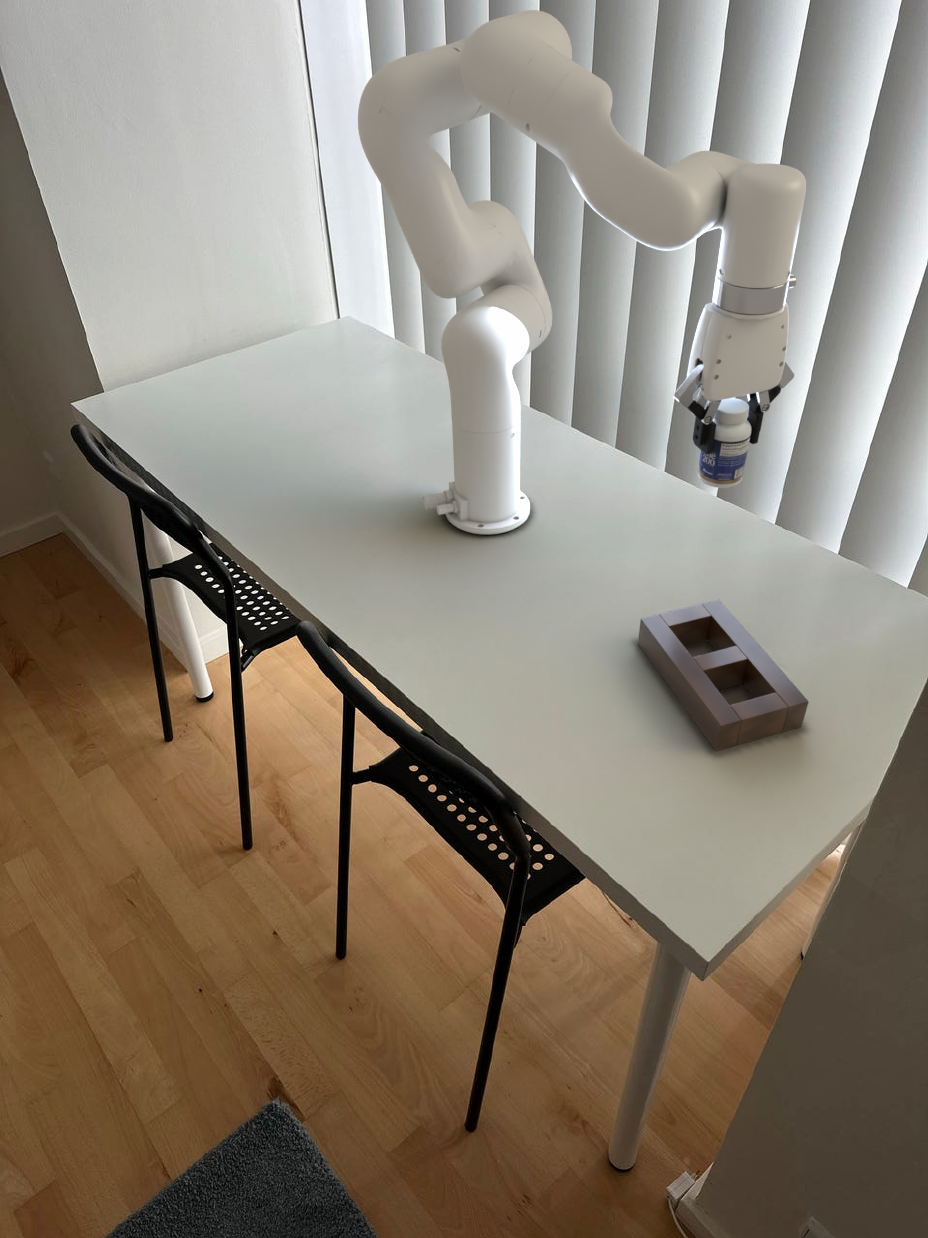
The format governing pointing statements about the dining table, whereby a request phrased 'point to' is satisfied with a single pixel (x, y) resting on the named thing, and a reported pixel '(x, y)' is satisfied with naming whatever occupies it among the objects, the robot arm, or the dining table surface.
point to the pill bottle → (727, 446)
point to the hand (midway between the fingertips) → (725, 442)
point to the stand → (721, 674)
